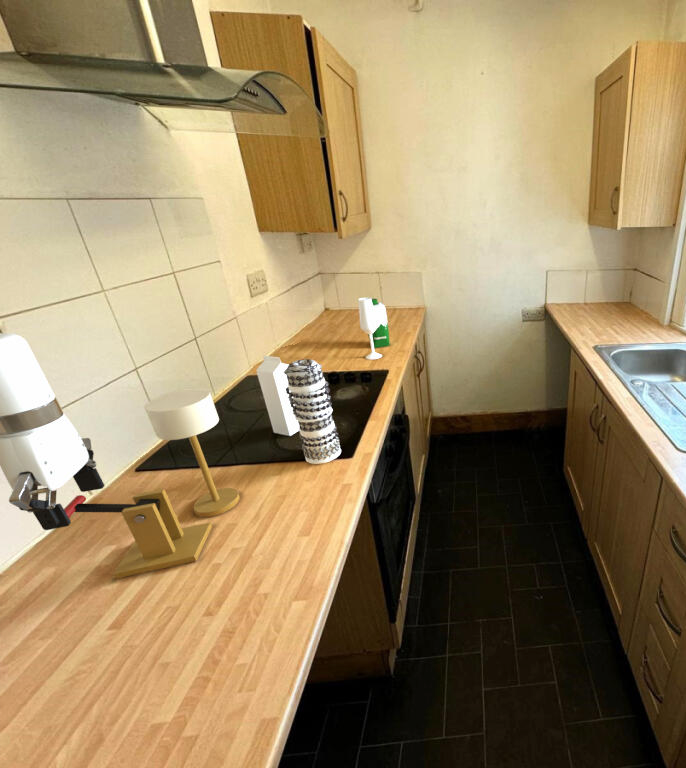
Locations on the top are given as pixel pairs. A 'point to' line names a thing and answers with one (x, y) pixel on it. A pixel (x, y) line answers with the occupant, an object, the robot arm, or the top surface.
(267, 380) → the milk
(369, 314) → the champagne flute
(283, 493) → the top surface
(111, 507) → the switch lever
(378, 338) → the milk carton
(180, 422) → the table lamp
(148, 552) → the switch bracket
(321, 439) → the decorative candle
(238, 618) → the top surface
